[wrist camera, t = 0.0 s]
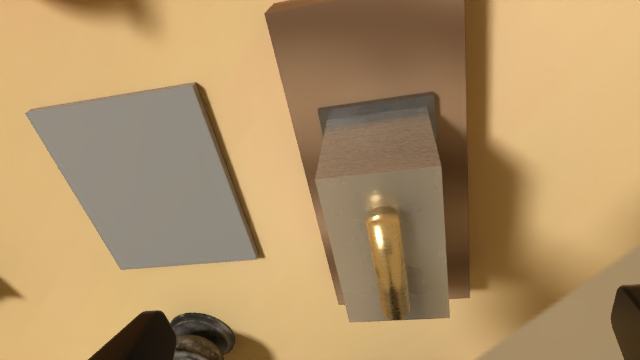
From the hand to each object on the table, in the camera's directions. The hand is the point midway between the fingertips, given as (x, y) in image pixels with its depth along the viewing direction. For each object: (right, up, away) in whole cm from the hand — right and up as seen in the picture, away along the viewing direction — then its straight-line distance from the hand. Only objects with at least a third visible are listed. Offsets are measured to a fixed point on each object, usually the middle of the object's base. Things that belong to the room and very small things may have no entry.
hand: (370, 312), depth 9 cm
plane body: (+2, +4, +15) cm, 16 cm away
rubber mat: (-11, +2, +18) cm, 21 cm away
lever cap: (+2, +2, +13) cm, 13 cm away
